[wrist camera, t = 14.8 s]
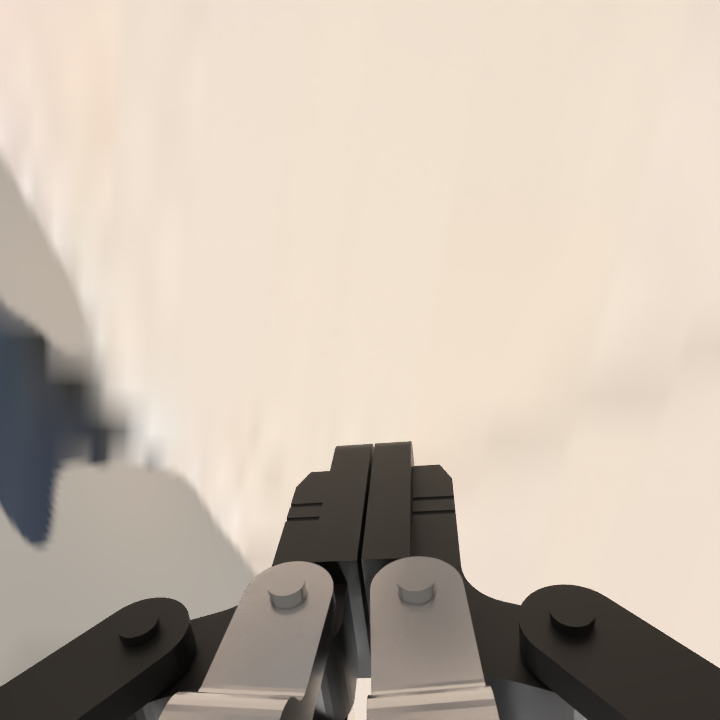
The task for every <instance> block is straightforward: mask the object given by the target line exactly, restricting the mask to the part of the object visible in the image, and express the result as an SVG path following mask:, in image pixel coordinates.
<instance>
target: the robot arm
mask: <svg viewBox="0 0 720 720" xmlns="http://www.w3.org/2000/svg"><path fill="white" fill-rule="evenodd" d="M357 678H371V695H368V698H367V720H720V668H718V667H717V666H715V665H714V664H712V663H710V662H709V661H707V660H706V659H704V658H703V657H701V656H699V655H698V654H696V653H695V652H693V651H691V650H690V649H688V648H687V647H685V646H683V645H682V644H680V643H679V642H677V641H675V640H674V639H672V638H671V637H669V636H668V635H666V634H664V633H663V632H661V631H660V630H658V629H656V628H655V627H653V626H652V625H650V624H648V623H647V622H645V621H644V620H642V619H641V618H639V617H637V616H636V615H634V614H633V613H631V612H629V611H628V610H626V609H625V608H623V607H621V606H620V605H618V604H617V603H615V602H613V601H612V600H610V599H609V598H607V597H606V596H604V595H602V594H600V593H598V592H596V591H593V590H591V589H588V588H584V587H581V586H575V585H553V586H548V587H544V588H541V589H539V590H537V591H535V592H533V593H532V594H530V595H529V596H528V597H527V598H526V599H525V600H524V601H523V603H522V605H516V604H512V603H507V602H503V601H499V600H496V599H493V598H491V597H488V596H486V595H484V594H482V593H481V592H479V591H478V590H476V589H475V588H474V587H473V586H472V585H471V584H470V583H469V582H468V581H467V580H466V578H465V577H464V574H463V572H462V569H461V562H460V553H459V543H458V533H457V523H456V513H455V504H454V494H453V484H452V478H451V477H450V476H449V475H448V474H447V473H446V471H445V470H444V469H443V468H442V467H441V466H440V465H426V466H414V459H413V449H412V442H411V441H409V442H393V443H377V444H375V446H374V447H373V444H363V445H347V446H336V448H335V452H334V456H333V461H332V465H331V469H330V471H324V472H311V473H310V474H309V475H308V476H307V477H306V478H305V479H304V480H303V481H302V482H301V483H300V484H299V485H298V486H297V487H296V490H295V493H294V496H293V500H292V503H291V508H290V509H289V513H288V516H287V522H285V526H284V529H283V532H282V535H281V538H280V542H279V545H278V548H277V551H276V555H275V558H274V561H273V564H272V567H270V568H268V569H266V570H265V571H263V572H261V573H260V574H258V575H257V576H256V577H255V578H254V579H253V580H252V581H251V582H250V583H249V584H248V586H247V587H246V589H245V591H244V593H243V595H242V598H241V600H240V602H239V604H238V605H237V606H235V607H233V608H231V609H228V610H225V611H222V612H218V613H215V614H211V615H207V616H204V617H200V618H197V619H193V620H190V618H189V614H188V611H187V609H186V608H185V606H184V605H182V603H180V602H178V601H176V600H173V599H170V598H150V599H145V600H141V601H138V602H135V603H132V604H130V605H128V606H126V607H124V608H122V609H121V610H119V611H117V612H116V613H114V614H113V615H111V616H109V617H108V618H106V619H105V620H103V621H102V622H100V623H99V624H97V625H96V626H94V627H92V628H91V629H89V630H88V631H86V632H85V633H83V634H82V635H80V636H78V637H77V638H75V639H74V640H72V641H71V642H69V643H68V644H66V645H65V646H63V647H62V648H60V649H58V650H57V651H55V652H54V653H52V654H51V655H49V656H48V657H46V658H44V659H43V660H42V661H40V662H38V663H37V664H35V665H34V666H32V667H30V668H29V669H27V670H26V671H24V672H23V673H21V674H20V675H18V676H17V677H15V678H13V679H12V680H10V681H9V682H7V683H6V684H4V685H3V686H1V687H0V720H355V718H354V710H353V704H354V699H355V689H356V679H357Z"/></svg>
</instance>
